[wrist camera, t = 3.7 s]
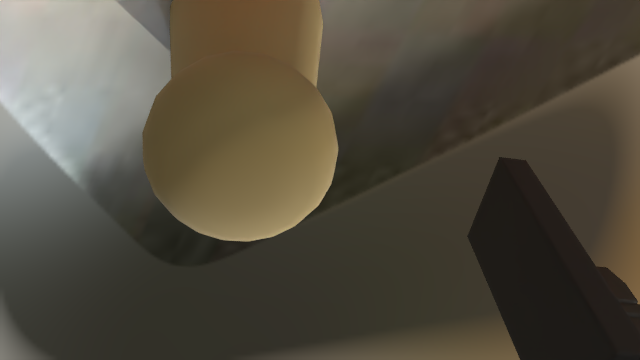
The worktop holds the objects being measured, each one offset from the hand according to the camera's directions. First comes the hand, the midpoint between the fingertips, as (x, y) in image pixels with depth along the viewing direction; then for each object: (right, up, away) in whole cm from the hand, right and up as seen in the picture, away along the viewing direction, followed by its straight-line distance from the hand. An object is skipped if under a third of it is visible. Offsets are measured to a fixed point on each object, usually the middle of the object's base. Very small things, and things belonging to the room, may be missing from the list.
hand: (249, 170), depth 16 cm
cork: (-1, +6, +8) cm, 10 cm away
